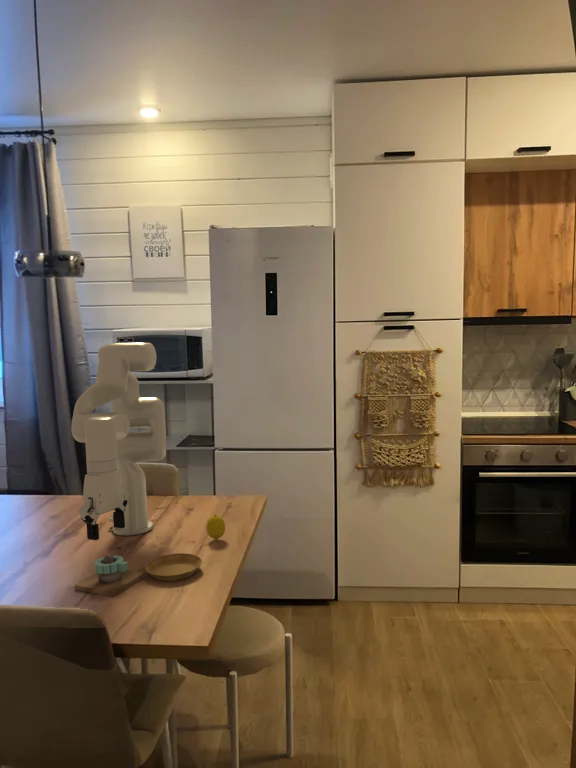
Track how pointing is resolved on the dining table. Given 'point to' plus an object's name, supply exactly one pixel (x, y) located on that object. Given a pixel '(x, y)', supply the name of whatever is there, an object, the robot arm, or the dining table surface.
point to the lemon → (215, 527)
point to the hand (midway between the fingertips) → (106, 533)
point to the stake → (109, 581)
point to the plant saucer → (173, 566)
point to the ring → (110, 565)
